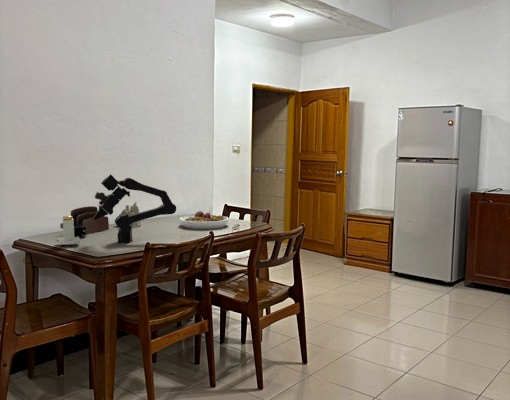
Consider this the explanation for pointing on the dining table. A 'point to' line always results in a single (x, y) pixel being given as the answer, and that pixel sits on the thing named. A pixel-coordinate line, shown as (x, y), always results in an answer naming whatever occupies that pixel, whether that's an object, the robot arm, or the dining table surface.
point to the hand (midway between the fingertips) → (94, 219)
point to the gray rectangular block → (69, 241)
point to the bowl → (203, 221)
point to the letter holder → (89, 219)
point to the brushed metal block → (68, 228)
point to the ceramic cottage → (132, 211)
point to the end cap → (79, 231)
